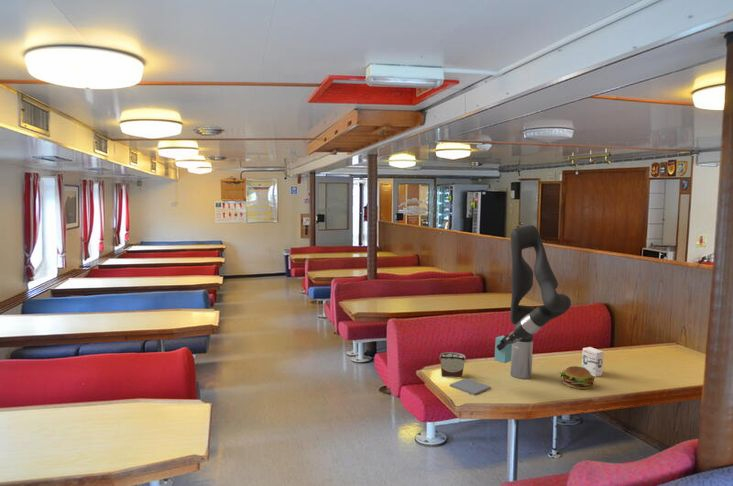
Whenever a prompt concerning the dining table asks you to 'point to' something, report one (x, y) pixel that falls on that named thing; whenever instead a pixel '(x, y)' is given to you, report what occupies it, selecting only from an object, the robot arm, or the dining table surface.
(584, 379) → the food
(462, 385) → the grey mat
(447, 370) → the food container
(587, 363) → the ink box
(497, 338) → the teal block
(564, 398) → the dining table surface
